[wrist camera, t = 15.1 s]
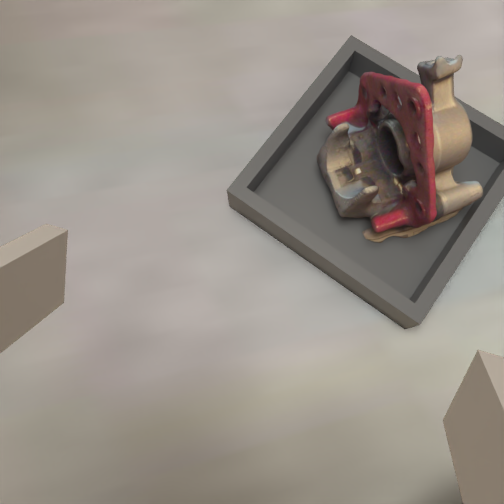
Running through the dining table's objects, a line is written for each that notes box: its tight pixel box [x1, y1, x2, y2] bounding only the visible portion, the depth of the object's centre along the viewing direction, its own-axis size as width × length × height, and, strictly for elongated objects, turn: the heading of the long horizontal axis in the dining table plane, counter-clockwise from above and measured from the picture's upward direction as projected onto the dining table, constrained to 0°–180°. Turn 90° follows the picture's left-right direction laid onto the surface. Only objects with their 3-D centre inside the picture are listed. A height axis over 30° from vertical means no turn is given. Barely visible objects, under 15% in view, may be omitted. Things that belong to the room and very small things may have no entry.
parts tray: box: [227, 35, 504, 329], centre depth 35 cm, size 16×16×3 cm
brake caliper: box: [316, 55, 483, 243], centre depth 32 cm, size 11×11×12 cm
